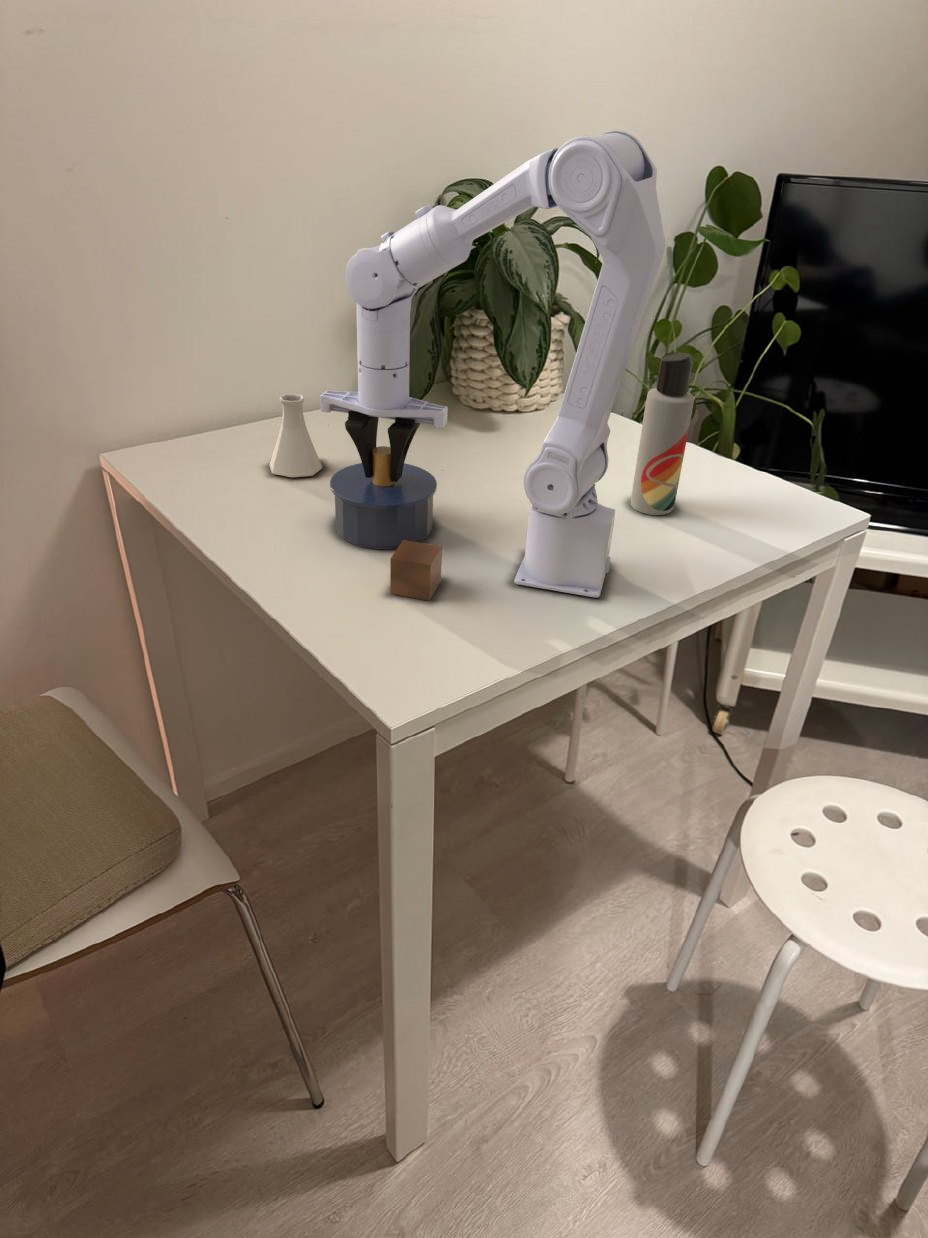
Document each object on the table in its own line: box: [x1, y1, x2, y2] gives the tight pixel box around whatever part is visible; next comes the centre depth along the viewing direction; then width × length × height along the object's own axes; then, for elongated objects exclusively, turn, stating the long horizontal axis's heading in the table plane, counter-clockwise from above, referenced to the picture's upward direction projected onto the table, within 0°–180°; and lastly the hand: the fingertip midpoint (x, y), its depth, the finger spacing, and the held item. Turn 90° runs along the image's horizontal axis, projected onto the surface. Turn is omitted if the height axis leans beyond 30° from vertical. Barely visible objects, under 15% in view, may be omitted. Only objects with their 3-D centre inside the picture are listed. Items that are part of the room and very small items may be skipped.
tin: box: [334, 495, 434, 550], centre depth 109 cm, size 12×12×5 cm
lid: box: [329, 445, 438, 509], centre depth 106 cm, size 13×13×5 cm
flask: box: [269, 393, 323, 478], centre depth 121 cm, size 7×7×10 cm
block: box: [389, 540, 443, 602], centre depth 97 cm, size 4×4×4 cm
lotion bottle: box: [630, 352, 695, 516], centre depth 113 cm, size 6×6×20 cm
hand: (383, 476), depth 107 cm, fingers closed on lid, 2 cm apart
